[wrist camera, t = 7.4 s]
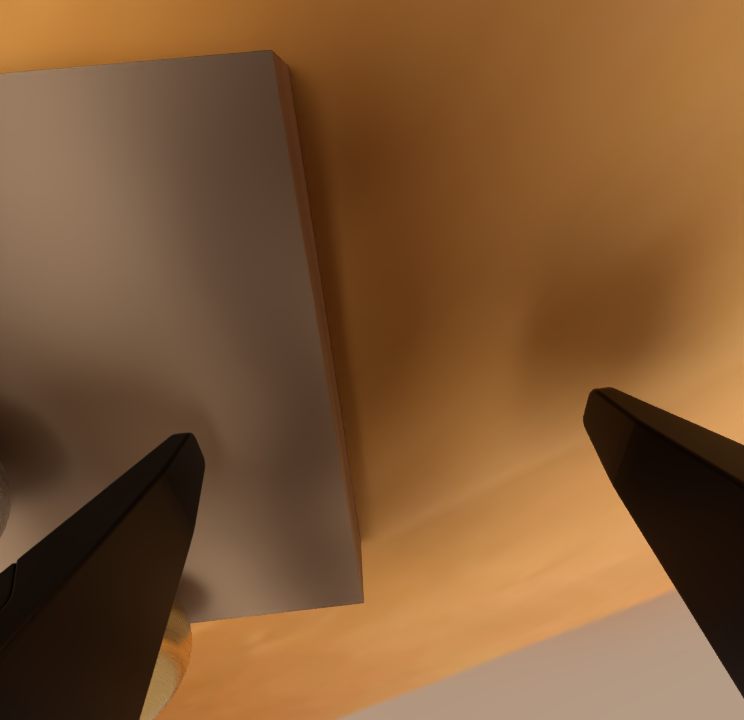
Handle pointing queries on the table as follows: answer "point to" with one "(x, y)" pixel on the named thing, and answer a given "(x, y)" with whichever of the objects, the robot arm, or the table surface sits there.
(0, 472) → the steel ball
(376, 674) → the table surface
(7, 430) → the board
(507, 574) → the table surface
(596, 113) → the table surface
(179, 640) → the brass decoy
